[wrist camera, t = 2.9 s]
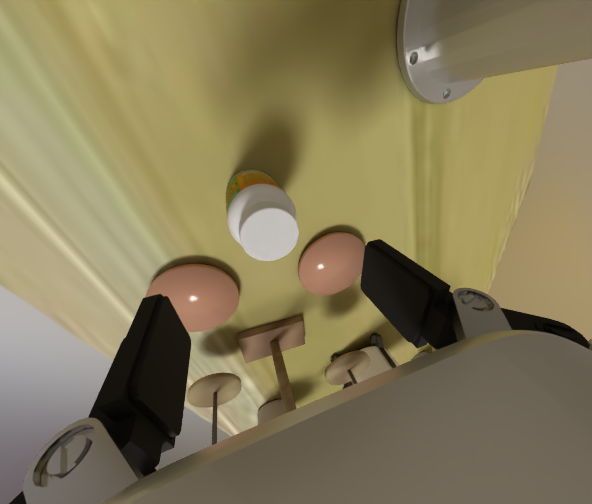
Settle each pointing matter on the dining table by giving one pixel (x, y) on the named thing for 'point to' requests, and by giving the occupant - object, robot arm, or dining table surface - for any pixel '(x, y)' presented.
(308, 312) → the dining table surface
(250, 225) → the supplement bottle
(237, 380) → the balance
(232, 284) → the tan flat disc
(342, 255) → the pink disc
